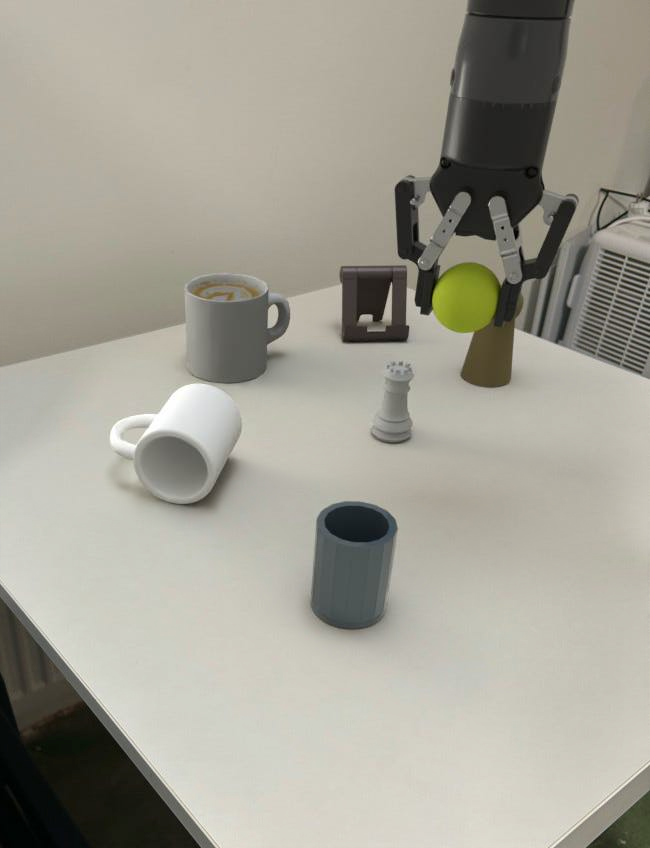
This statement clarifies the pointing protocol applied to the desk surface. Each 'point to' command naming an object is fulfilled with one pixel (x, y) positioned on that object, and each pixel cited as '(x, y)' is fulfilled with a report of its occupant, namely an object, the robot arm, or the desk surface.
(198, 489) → the mug
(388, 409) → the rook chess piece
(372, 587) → the cup
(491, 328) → the brown game pawn
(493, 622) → the desk surface
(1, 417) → the desk surface
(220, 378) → the coffee mug
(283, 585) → the desk surface
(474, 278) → the ball
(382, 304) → the tablet stand
